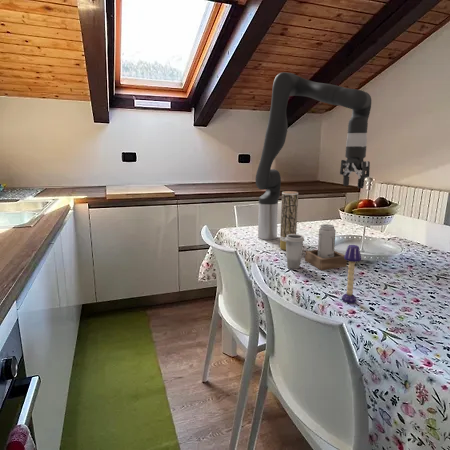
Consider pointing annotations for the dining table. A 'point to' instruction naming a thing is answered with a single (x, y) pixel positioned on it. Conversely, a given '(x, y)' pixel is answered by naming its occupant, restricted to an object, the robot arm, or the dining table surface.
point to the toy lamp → (351, 271)
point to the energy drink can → (326, 241)
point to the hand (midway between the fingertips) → (352, 186)
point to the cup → (294, 250)
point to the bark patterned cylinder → (288, 216)
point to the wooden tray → (325, 260)
